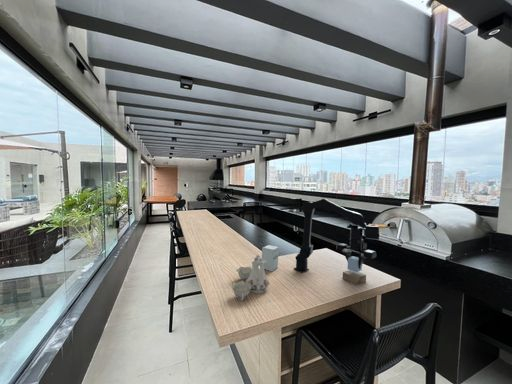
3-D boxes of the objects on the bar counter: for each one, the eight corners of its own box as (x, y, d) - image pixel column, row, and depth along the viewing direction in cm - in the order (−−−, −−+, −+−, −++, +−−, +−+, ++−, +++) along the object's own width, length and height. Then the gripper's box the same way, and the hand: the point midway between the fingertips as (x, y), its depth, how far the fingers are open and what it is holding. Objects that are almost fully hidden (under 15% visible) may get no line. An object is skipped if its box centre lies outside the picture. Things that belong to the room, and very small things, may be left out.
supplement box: (272, 272, 120) (273, 249, 120) (260, 269, 124) (261, 247, 124) (278, 268, 127) (279, 246, 126) (267, 265, 130) (267, 244, 130)
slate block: (356, 272, 110) (357, 260, 109) (347, 269, 113) (348, 257, 113) (361, 270, 113) (362, 258, 113) (352, 267, 117) (352, 256, 116)
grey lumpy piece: (235, 278, 114) (232, 247, 114) (266, 275, 115) (264, 245, 115) (232, 309, 86) (229, 268, 86) (273, 305, 87) (270, 264, 87)
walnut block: (356, 285, 108) (356, 277, 108) (342, 279, 115) (342, 271, 115) (365, 282, 112) (366, 274, 112) (352, 276, 119) (352, 269, 119)
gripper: (381, 239, 110) (380, 269, 111) (346, 232, 125) (345, 258, 125) (372, 242, 103) (370, 274, 104) (336, 234, 118) (335, 262, 118)
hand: (354, 266), depth 113 cm, fingers closed on slate block, 5 cm apart
